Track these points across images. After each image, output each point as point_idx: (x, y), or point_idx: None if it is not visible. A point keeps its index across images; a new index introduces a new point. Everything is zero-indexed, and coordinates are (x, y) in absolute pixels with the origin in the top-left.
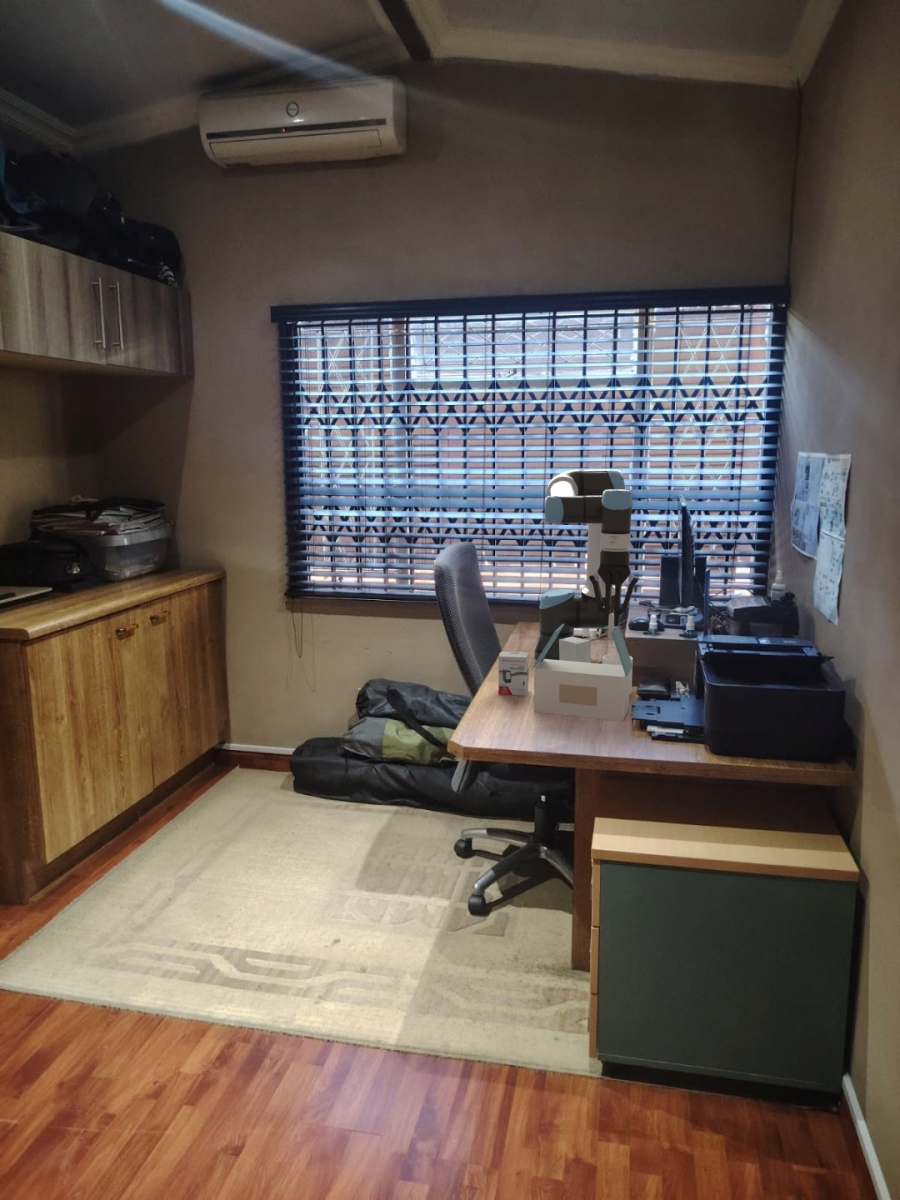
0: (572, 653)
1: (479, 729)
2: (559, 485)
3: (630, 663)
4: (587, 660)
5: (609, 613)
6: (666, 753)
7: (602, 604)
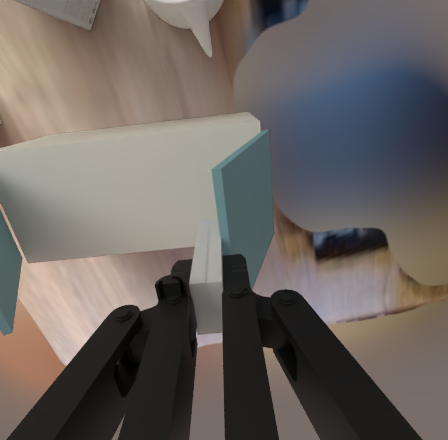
0: None
1: (56, 322)
2: None
3: (267, 150)
4: None
5: (196, 327)
6: (341, 300)
7: (125, 344)
